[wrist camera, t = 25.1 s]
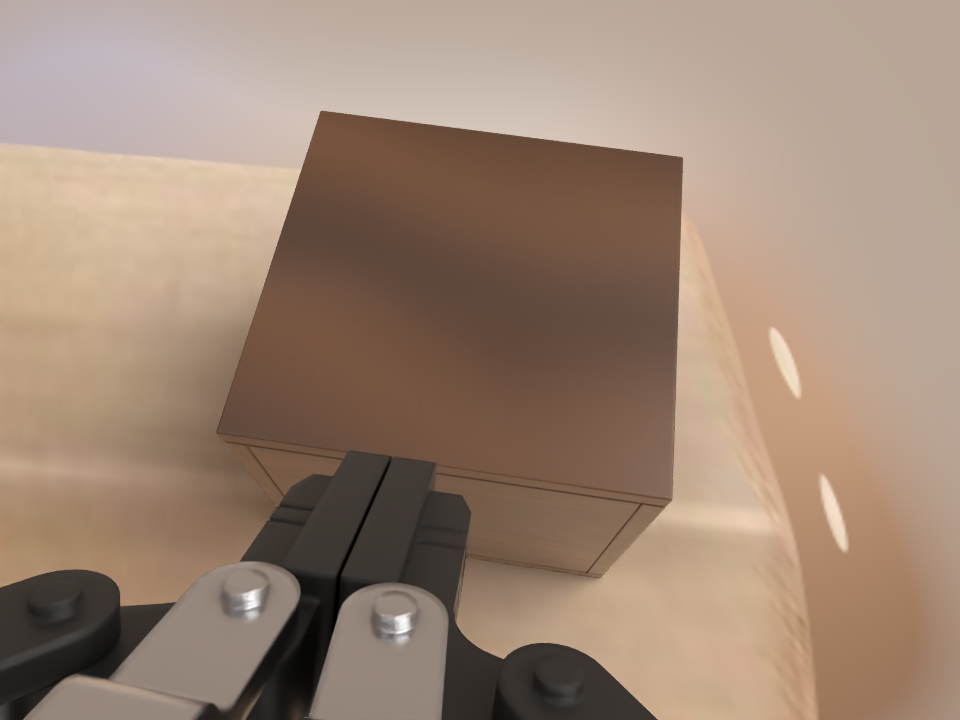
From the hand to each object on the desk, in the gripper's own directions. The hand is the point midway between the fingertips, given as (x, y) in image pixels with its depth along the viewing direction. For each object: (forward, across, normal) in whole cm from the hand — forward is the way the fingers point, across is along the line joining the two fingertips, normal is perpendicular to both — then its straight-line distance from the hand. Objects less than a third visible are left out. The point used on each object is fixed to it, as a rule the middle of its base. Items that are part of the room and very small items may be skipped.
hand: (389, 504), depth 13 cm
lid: (+16, 0, 0) cm, 16 cm away
